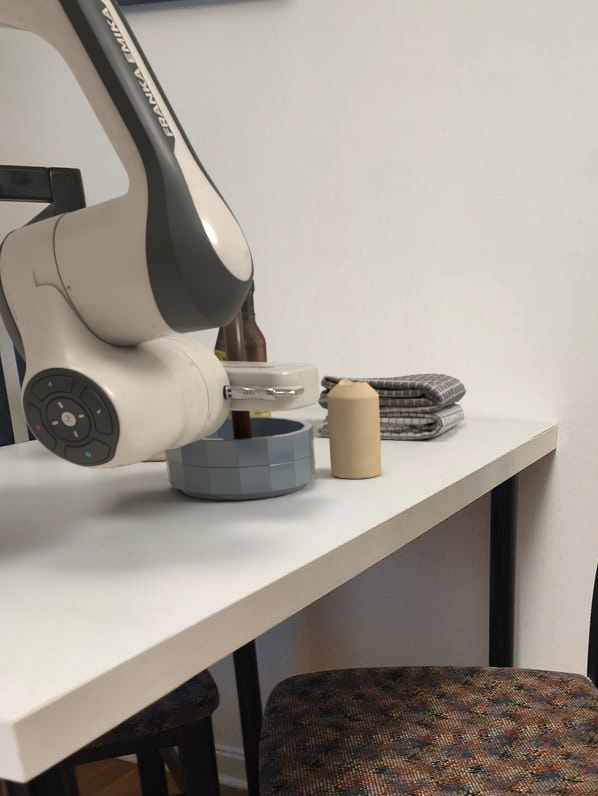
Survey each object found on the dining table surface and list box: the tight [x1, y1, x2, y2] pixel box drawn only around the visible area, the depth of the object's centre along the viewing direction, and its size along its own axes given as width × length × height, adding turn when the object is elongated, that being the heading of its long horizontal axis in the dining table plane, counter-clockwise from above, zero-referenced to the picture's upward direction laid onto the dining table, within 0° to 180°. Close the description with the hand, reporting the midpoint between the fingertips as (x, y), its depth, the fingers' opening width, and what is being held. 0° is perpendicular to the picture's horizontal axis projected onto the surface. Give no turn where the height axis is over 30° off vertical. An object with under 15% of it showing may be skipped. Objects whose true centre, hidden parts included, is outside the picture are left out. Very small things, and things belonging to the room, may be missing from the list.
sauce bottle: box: [213, 279, 272, 417], centre depth 107 cm, size 6×6×20 cm
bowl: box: [165, 416, 317, 501], centre depth 91 cm, size 15×15×6 cm
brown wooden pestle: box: [223, 308, 252, 439], centre depth 89 cm, size 6×6×19 cm
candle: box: [327, 379, 382, 480], centre depth 96 cm, size 6×6×10 cm
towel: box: [317, 373, 467, 441], centre depth 123 cm, size 15×18×8 cm
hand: (240, 374), depth 89 cm, fingers closed on brown wooden pestle
